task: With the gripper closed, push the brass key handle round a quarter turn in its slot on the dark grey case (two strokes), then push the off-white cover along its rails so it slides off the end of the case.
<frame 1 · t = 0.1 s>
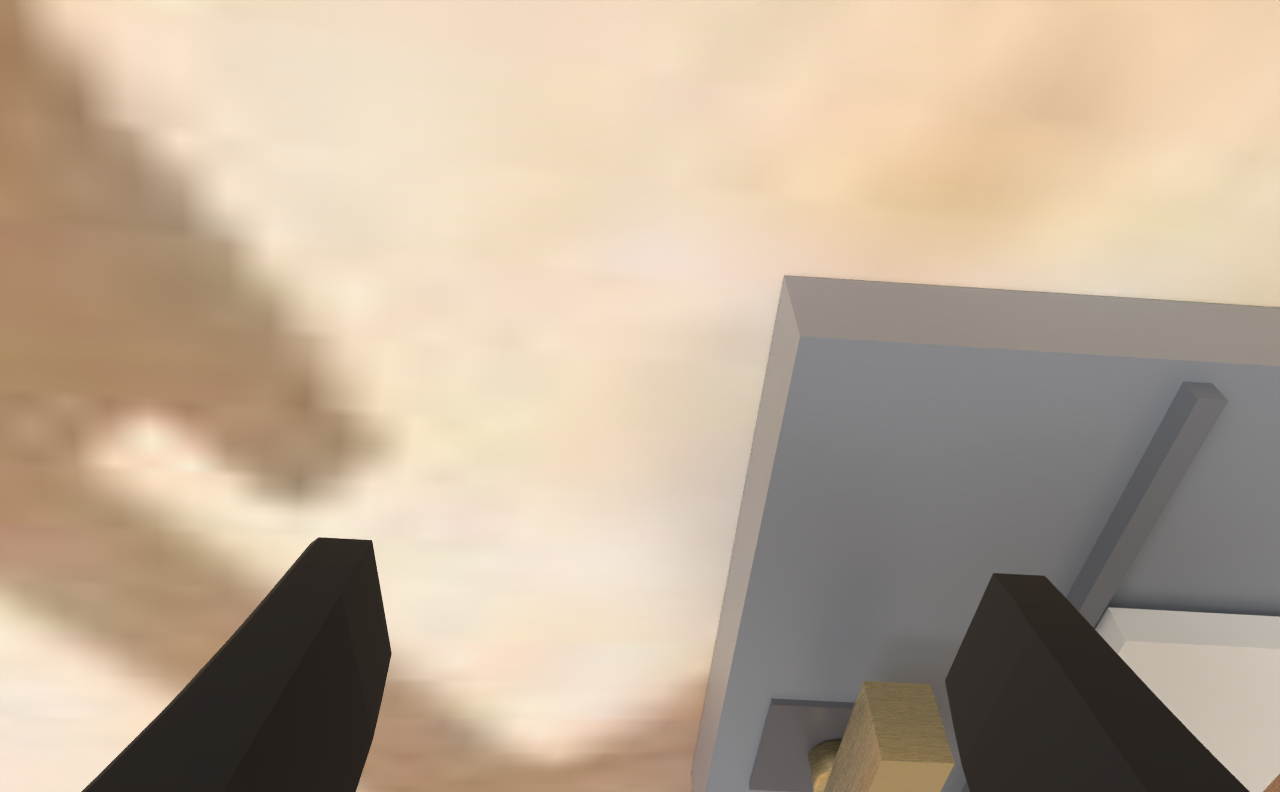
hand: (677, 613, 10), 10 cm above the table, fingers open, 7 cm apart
cover: (1173, 774, 23), point 4 cm above the table, slide at 0.0 cm
key: (866, 769, 22), point 5 cm above the table, hinge at 0.0°
case: (999, 597, 25), on the table
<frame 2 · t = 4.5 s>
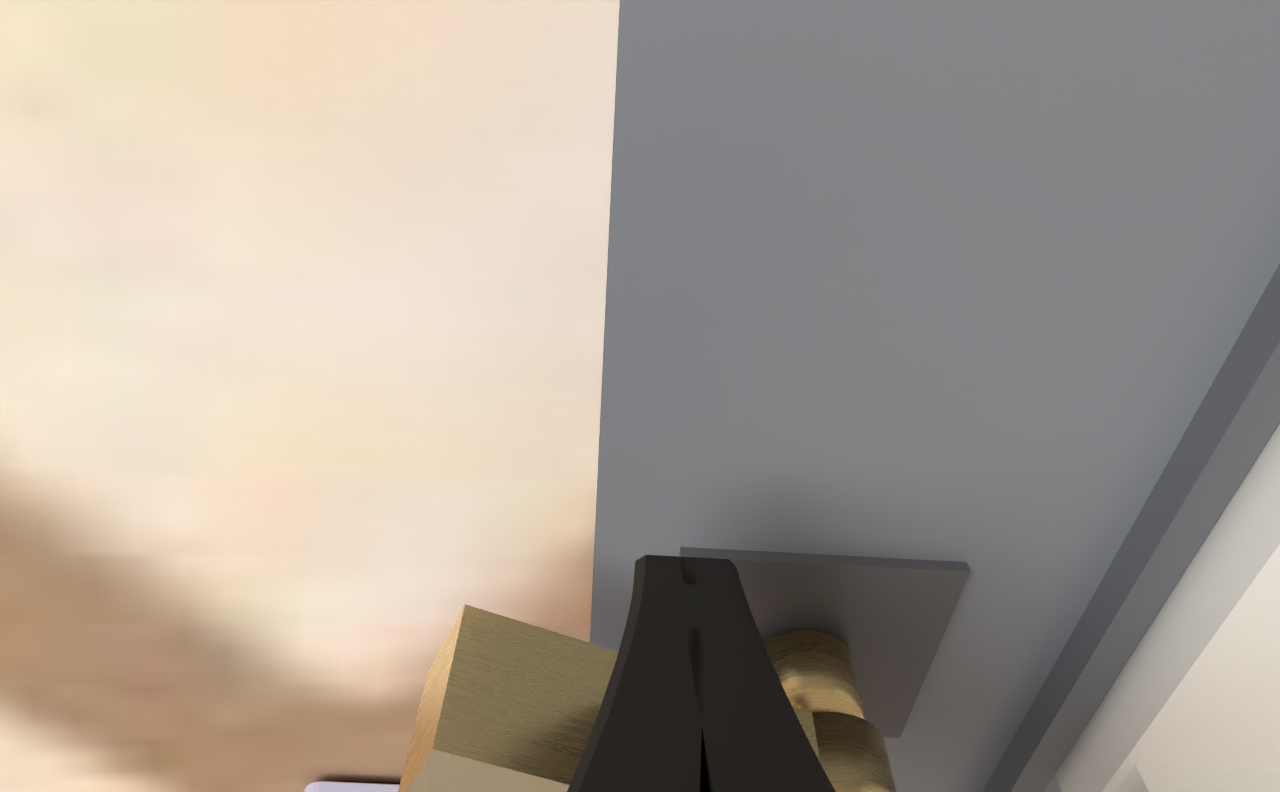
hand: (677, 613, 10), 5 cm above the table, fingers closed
key: (674, 720, 12), point 5 cm above the table, hinge at 68.0°, touching gripper
case: (1090, 381, 14), on the table
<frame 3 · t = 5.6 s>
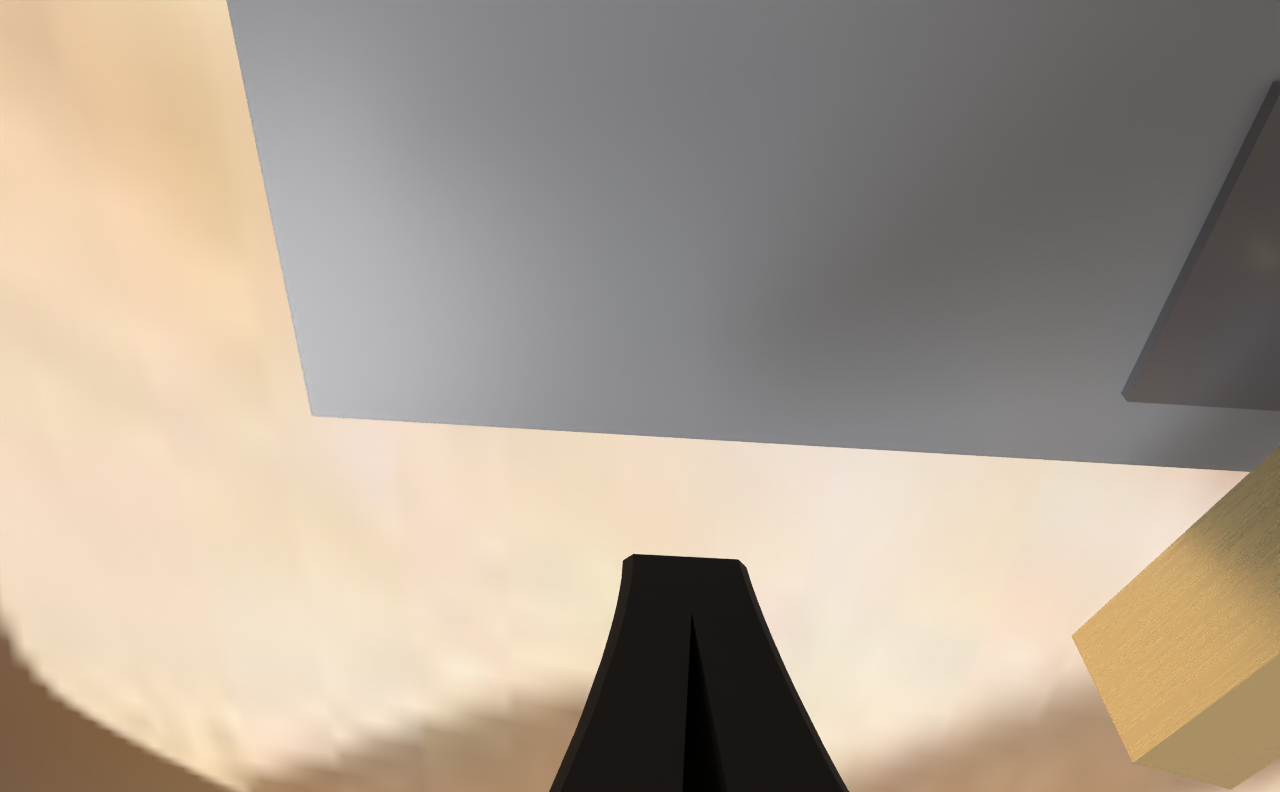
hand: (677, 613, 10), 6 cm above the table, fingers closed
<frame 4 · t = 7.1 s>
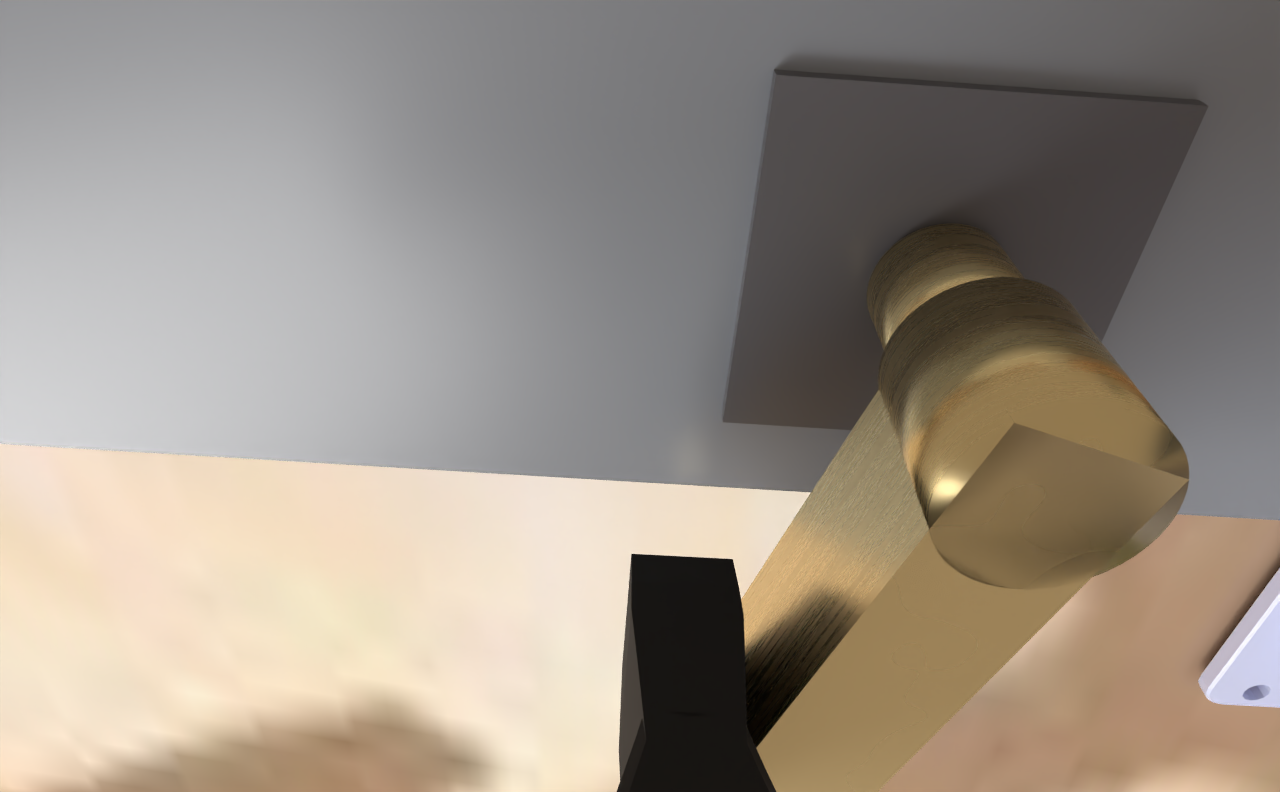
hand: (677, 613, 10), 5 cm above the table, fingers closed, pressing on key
key: (865, 540, 10), point 5 cm above the table, hinge at 73.8°, touching gripper
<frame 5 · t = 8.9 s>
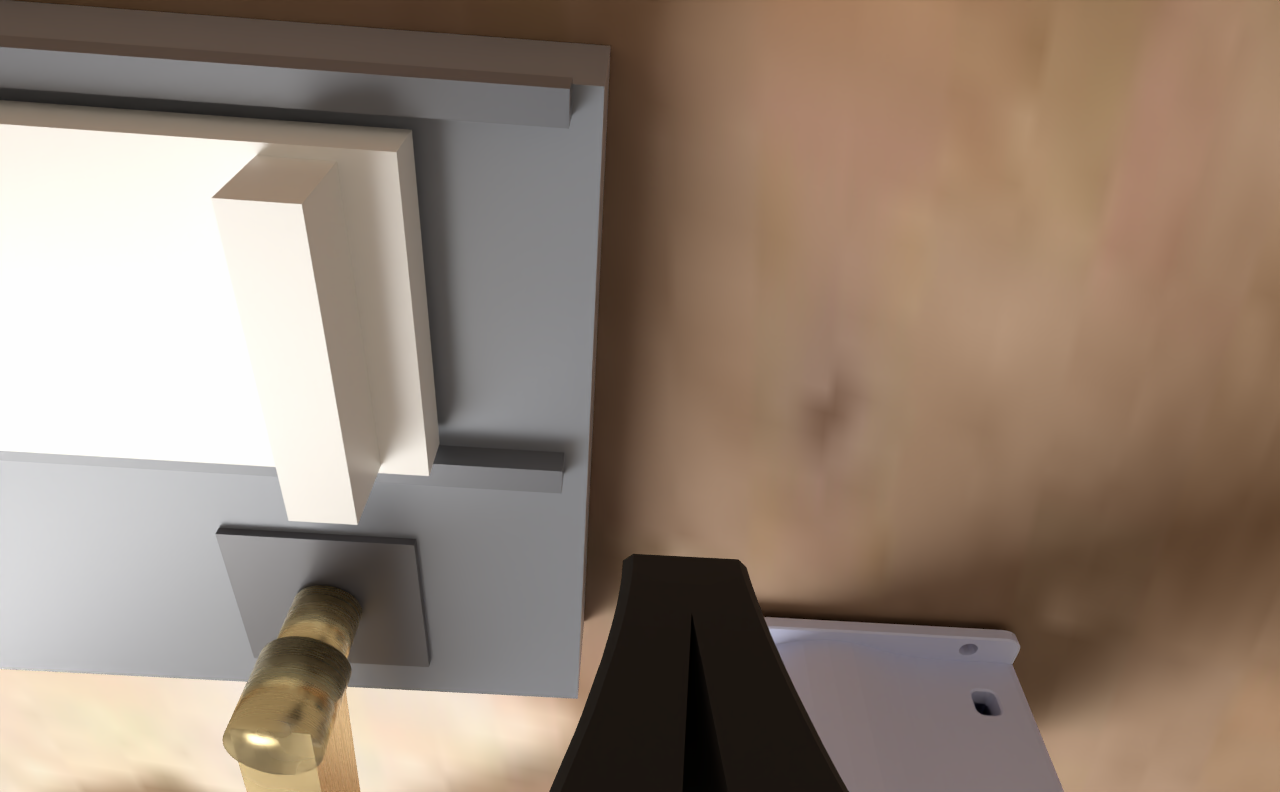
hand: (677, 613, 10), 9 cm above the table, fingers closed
cover: (107, 325, 14), point 4 cm above the table, slide at 0.0 cm
key: (314, 734, 20), point 5 cm above the table, hinge at 87.3°
case: (162, 375, 20), on the table
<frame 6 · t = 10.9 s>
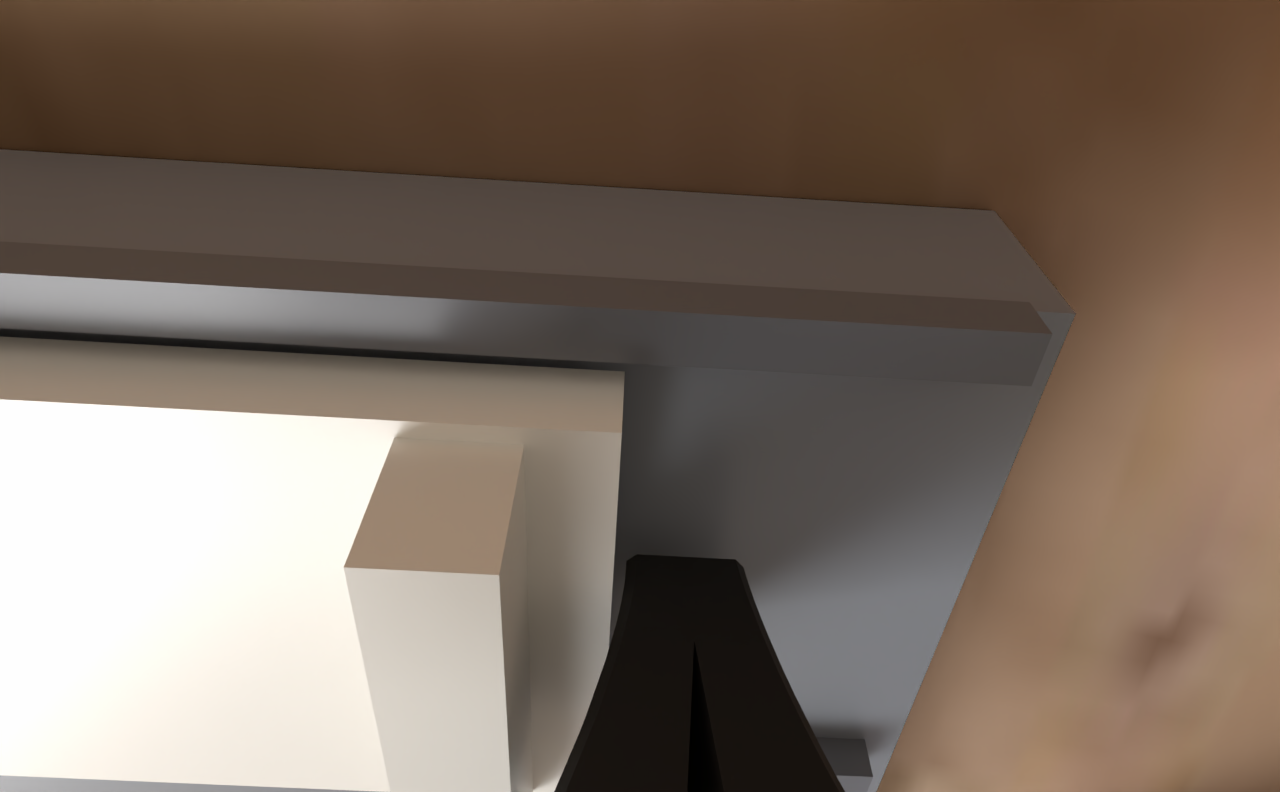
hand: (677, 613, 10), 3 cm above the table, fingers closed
cover: (151, 653, 9), point 4 cm above the table, slide at 1.5 cm, touching gripper
case: (294, 601, 15), on the table
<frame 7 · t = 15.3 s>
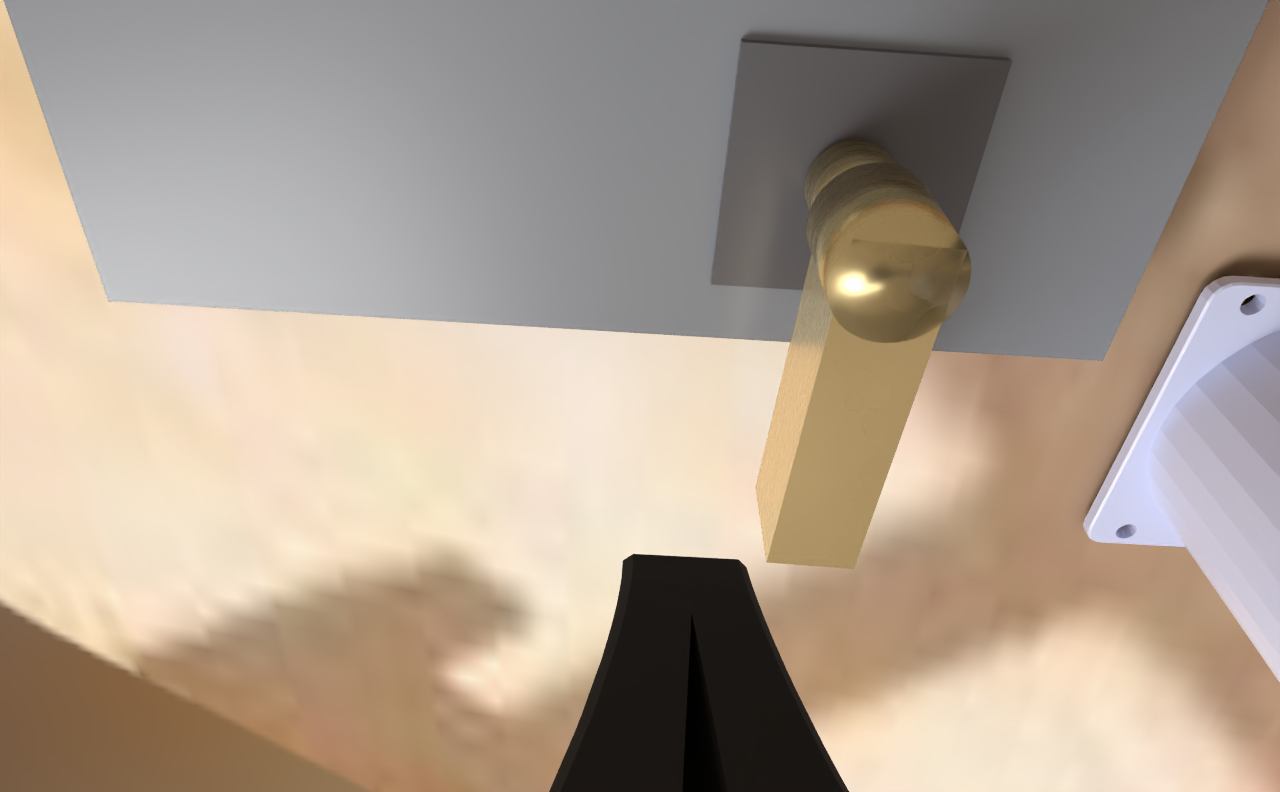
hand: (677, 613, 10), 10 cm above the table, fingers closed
key: (836, 354, 15), point 5 cm above the table, hinge at 88.0°
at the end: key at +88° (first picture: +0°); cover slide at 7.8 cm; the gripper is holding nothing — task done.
